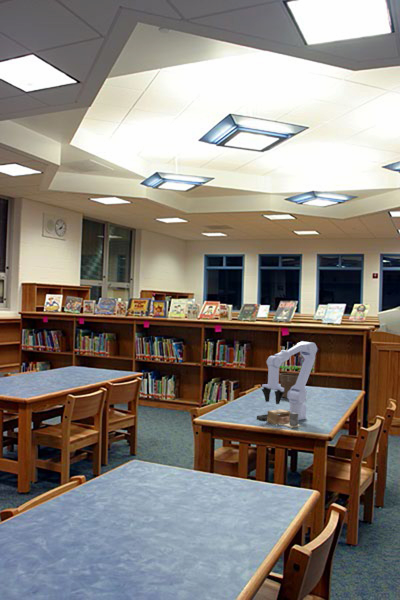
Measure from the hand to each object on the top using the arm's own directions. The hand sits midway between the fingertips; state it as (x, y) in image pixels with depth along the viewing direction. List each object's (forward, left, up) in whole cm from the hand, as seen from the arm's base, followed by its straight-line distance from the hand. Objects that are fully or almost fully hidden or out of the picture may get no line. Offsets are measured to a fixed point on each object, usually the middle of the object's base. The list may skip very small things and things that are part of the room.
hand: (272, 402), depth 284 cm
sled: (0, +8, -10) cm, 13 cm away
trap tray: (0, -5, -10) cm, 11 cm away
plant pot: (-70, -48, -10) cm, 85 cm away
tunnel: (0, +5, -10) cm, 11 cm away
